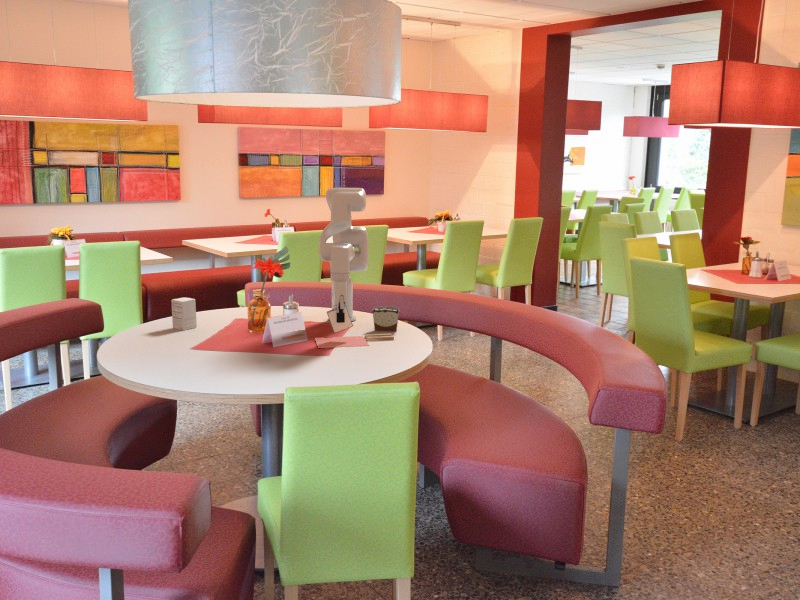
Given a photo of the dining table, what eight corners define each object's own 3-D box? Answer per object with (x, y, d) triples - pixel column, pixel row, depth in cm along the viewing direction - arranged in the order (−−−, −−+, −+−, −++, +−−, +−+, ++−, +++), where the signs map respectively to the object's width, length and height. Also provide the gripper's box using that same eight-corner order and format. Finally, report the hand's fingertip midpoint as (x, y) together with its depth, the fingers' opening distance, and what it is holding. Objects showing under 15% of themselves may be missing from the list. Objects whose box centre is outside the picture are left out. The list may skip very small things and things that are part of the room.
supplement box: (186, 325, 336) (184, 296, 334) (197, 327, 332) (196, 298, 329) (172, 328, 330) (170, 299, 328) (183, 330, 326) (182, 301, 323)
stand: (364, 338, 316) (364, 334, 316) (390, 337, 318) (391, 333, 318) (367, 341, 310) (367, 338, 309) (393, 340, 312) (394, 337, 312)
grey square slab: (326, 311, 308) (345, 304, 309) (333, 332, 310) (352, 325, 311) (327, 312, 306) (345, 305, 307) (334, 333, 308) (353, 326, 309)
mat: (314, 339, 314) (314, 337, 313) (362, 337, 318) (362, 336, 317) (318, 348, 298) (318, 347, 298) (369, 346, 302) (369, 345, 302)
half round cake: (401, 329, 333) (401, 306, 331) (400, 332, 327) (400, 309, 325) (373, 328, 334) (373, 305, 332) (371, 331, 328) (371, 308, 326)
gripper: (328, 273, 313) (328, 318, 316) (332, 279, 297) (333, 326, 301) (346, 273, 314) (346, 317, 317) (352, 279, 299) (352, 325, 302)
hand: (340, 321), depth 309 cm, fingers closed on grey square slab, 1 cm apart
